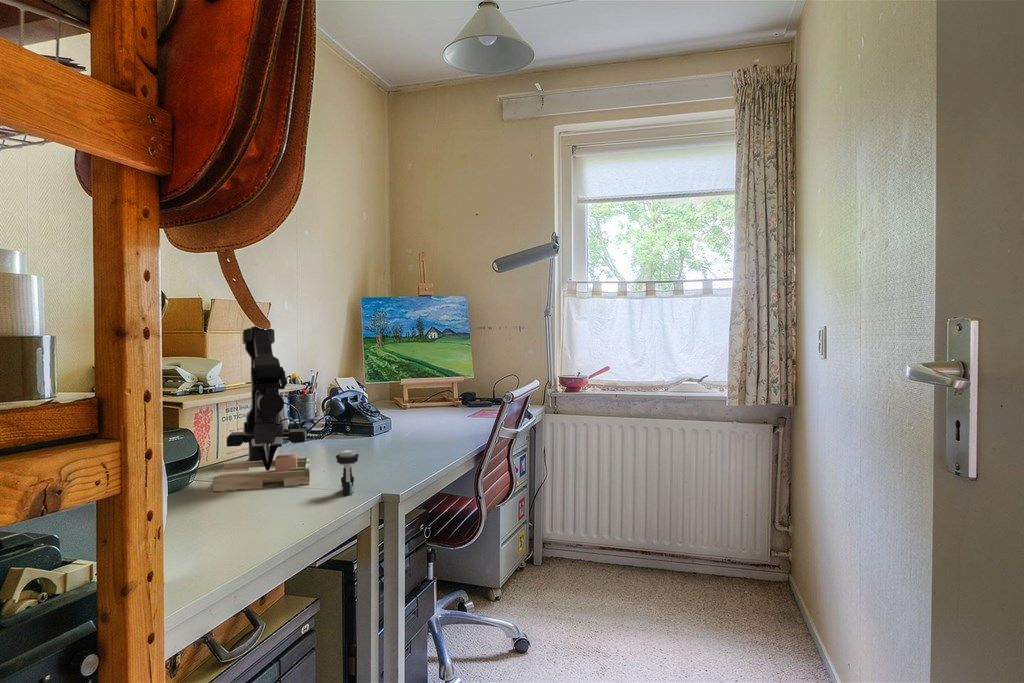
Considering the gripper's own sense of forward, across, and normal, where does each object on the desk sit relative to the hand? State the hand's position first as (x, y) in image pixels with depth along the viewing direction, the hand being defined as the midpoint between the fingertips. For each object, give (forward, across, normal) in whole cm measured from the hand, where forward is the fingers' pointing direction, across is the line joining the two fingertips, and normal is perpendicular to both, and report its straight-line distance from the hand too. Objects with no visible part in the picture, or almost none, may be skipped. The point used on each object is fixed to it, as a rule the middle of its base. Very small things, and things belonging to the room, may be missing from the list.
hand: (267, 470), depth 151 cm
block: (+1, +5, 0) cm, 5 cm away
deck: (+3, -1, 0) cm, 3 cm away
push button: (+3, +20, -18) cm, 27 cm away
